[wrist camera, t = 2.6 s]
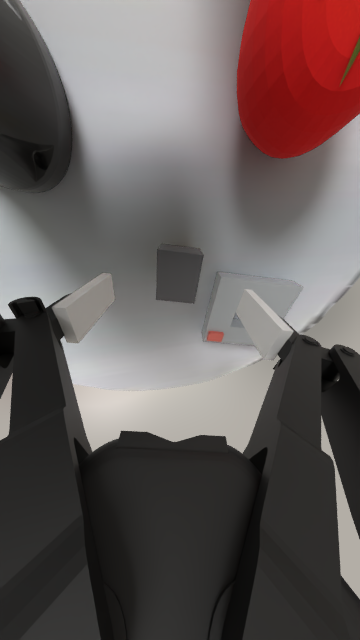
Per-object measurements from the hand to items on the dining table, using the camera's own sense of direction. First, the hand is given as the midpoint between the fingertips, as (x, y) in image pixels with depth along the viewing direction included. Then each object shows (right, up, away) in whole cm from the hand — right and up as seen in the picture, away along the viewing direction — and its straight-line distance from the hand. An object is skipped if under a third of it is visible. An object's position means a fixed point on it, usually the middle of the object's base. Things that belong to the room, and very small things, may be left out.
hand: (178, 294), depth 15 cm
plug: (0, +7, +10) cm, 12 cm away
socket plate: (+13, 0, +15) cm, 20 cm away
